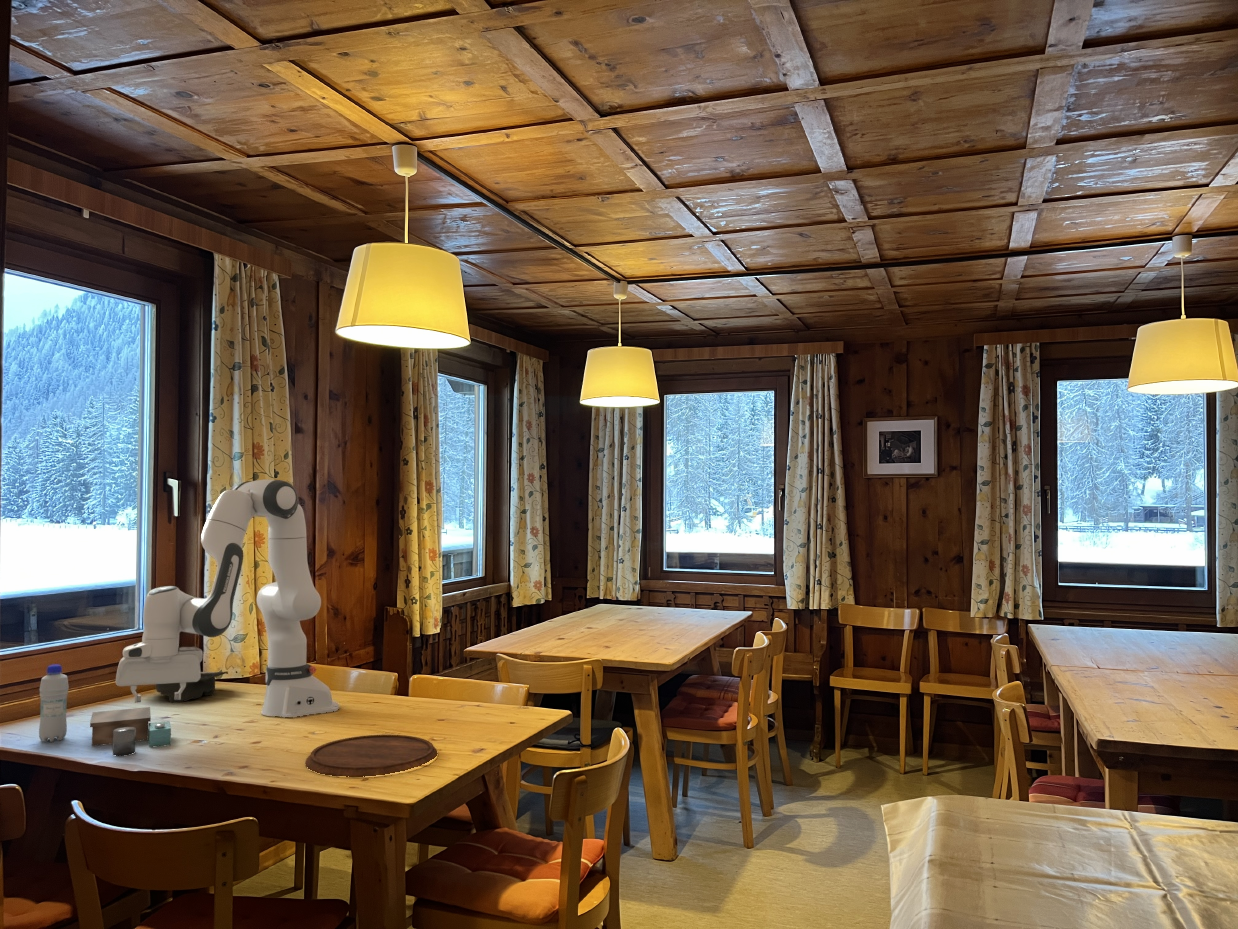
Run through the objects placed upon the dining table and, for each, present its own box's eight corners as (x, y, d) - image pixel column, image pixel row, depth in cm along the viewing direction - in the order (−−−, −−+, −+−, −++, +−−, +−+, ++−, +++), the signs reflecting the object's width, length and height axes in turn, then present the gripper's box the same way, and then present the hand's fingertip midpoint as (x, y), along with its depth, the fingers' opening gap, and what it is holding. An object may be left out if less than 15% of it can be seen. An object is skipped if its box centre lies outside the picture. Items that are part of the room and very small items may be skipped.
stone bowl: (186, 706, 281) (184, 676, 281) (126, 706, 290) (125, 677, 290) (245, 690, 304) (243, 662, 305) (188, 690, 313) (187, 663, 313)
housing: (168, 737, 246) (169, 718, 246) (170, 745, 238) (171, 725, 238) (148, 740, 244) (148, 720, 244) (149, 748, 236) (149, 727, 236)
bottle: (36, 744, 238) (38, 667, 239) (39, 738, 244) (41, 663, 244) (66, 741, 241) (68, 665, 242) (68, 735, 247) (70, 661, 248)
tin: (135, 749, 233) (135, 726, 234) (135, 754, 229) (135, 730, 229) (113, 752, 231) (113, 728, 231) (112, 757, 227) (113, 733, 227)
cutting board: (408, 783, 208) (408, 772, 208) (279, 776, 213) (279, 765, 214) (455, 746, 240) (456, 736, 240) (342, 740, 245) (342, 731, 245)
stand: (149, 728, 255) (150, 707, 255) (150, 740, 242) (150, 717, 243) (91, 734, 248) (92, 712, 248) (89, 746, 236) (90, 723, 236)
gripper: (202, 644, 249) (200, 695, 248) (117, 648, 240) (114, 701, 239) (203, 647, 244) (201, 700, 243) (117, 651, 234) (114, 706, 233)
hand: (157, 700), depth 241 cm, fingers open, 8 cm apart
